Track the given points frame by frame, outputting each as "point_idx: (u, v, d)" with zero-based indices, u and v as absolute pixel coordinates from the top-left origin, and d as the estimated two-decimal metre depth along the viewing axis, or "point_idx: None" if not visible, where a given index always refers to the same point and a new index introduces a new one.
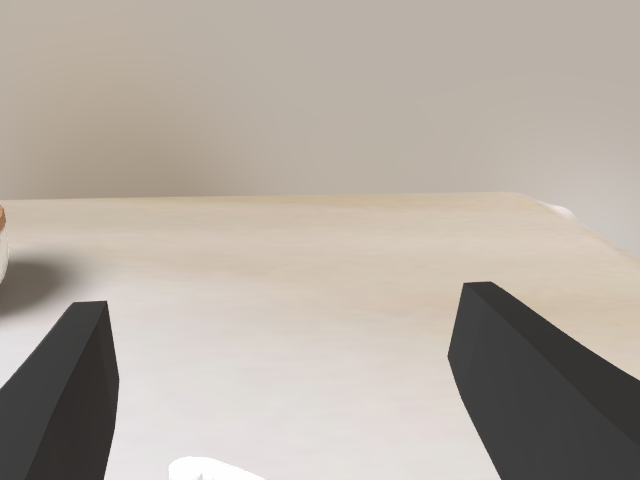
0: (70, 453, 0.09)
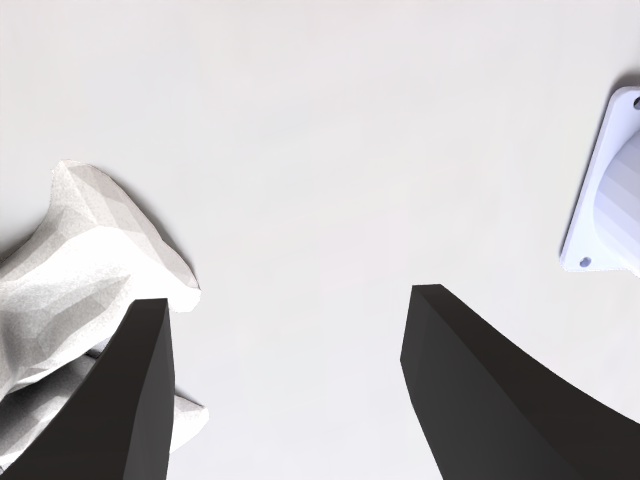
0: (147, 446, 0.09)
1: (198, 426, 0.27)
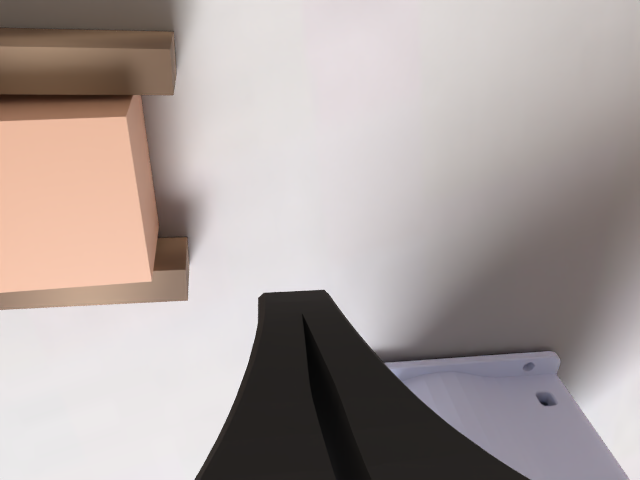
0: None
1: None
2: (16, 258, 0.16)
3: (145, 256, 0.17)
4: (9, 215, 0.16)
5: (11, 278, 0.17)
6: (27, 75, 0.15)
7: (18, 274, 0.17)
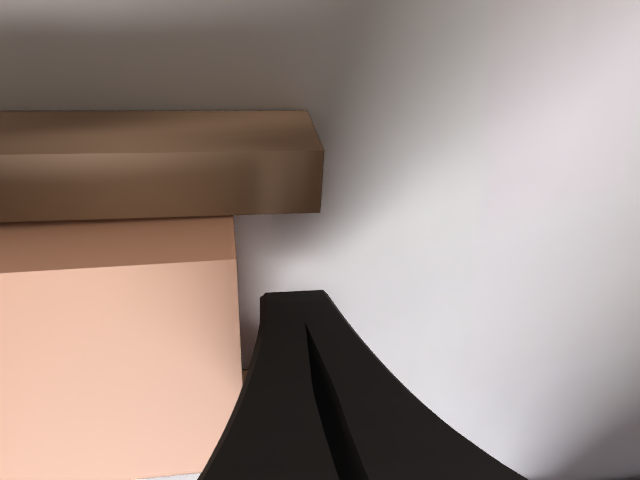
0: None
1: None
2: (54, 448, 0.11)
3: None
4: (46, 396, 0.10)
5: (46, 472, 0.11)
6: (111, 193, 0.10)
7: (56, 468, 0.11)
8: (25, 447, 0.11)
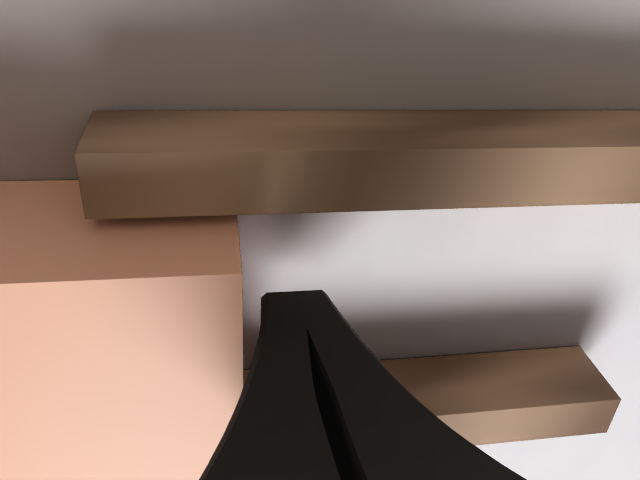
0: None
1: None
2: (51, 459, 0.11)
3: None
4: (46, 406, 0.10)
5: None
6: (552, 182, 0.11)
7: (52, 479, 0.11)
8: (23, 458, 0.11)
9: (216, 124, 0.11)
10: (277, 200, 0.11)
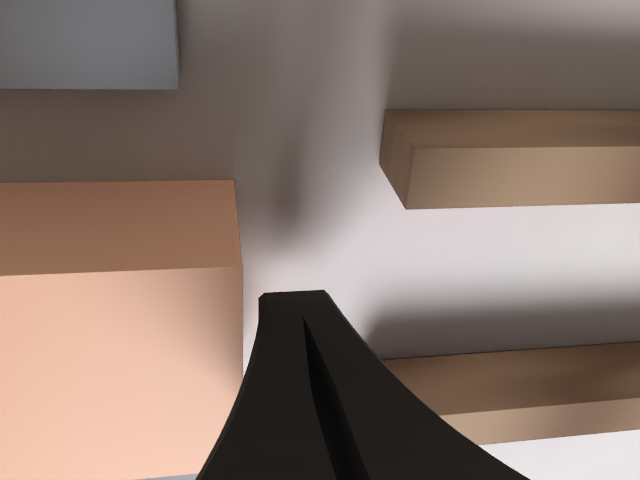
0: None
1: None
2: (56, 448, 0.11)
3: None
4: (51, 396, 0.11)
5: (46, 472, 0.11)
6: None
7: (56, 467, 0.11)
8: (28, 447, 0.11)
9: (505, 122, 0.12)
10: (571, 192, 0.12)
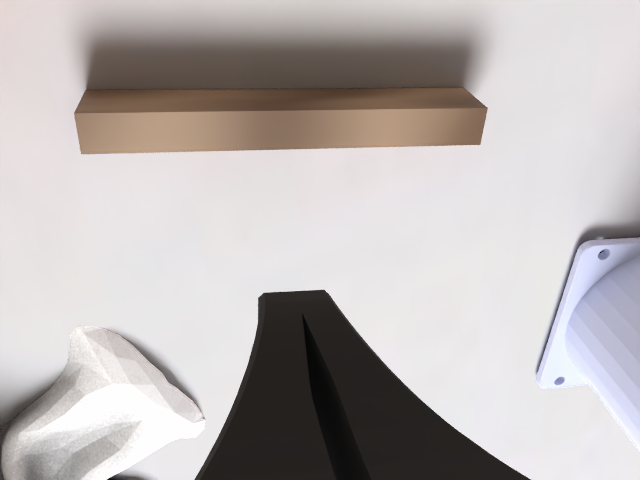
0: None
1: None
2: None
3: None
4: None
5: None
6: None
7: None
8: None
9: None
10: None
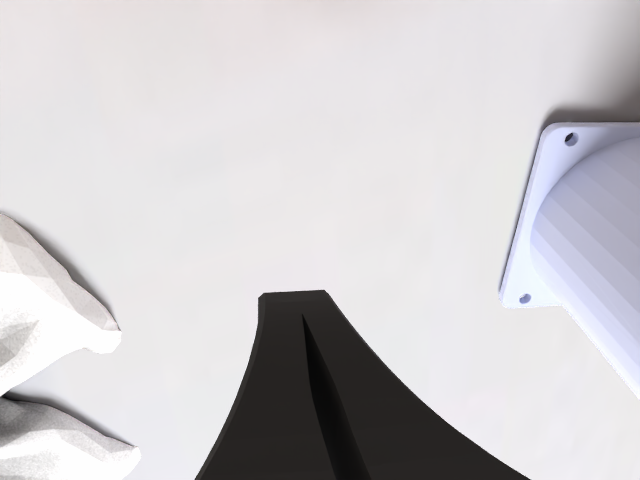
0: None
1: (129, 466, 0.27)
2: None
3: None
4: None
5: None
6: None
7: None
8: None
9: None
10: None
